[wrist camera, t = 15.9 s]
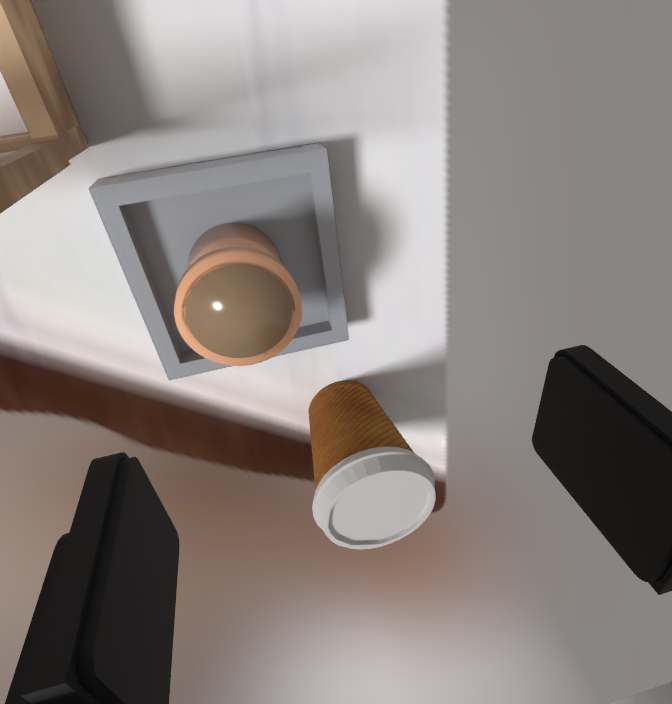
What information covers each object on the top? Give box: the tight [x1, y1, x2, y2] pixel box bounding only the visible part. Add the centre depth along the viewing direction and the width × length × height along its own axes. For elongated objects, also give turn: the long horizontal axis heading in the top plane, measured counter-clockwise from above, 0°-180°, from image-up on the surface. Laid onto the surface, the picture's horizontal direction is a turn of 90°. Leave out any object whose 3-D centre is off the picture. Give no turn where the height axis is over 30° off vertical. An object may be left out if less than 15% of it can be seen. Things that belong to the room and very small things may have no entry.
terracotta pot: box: [174, 223, 302, 366], centre depth 28 cm, size 7×7×7 cm
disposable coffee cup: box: [309, 381, 435, 549], centre depth 37 cm, size 10×10×12 cm
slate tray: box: [89, 143, 349, 380], centre depth 31 cm, size 14×14×2 cm
